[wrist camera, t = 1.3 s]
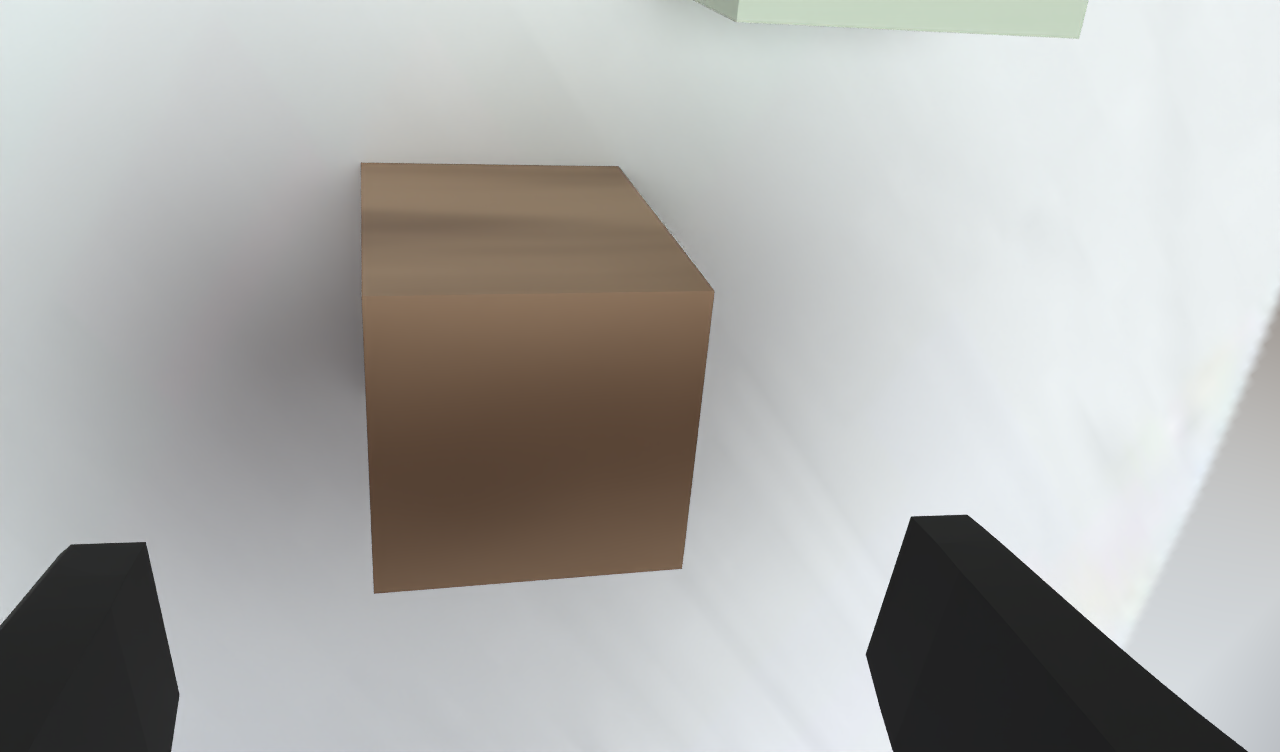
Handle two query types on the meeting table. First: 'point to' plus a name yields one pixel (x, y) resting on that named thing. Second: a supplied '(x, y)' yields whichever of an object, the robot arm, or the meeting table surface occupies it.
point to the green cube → (917, 15)
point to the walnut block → (525, 374)
